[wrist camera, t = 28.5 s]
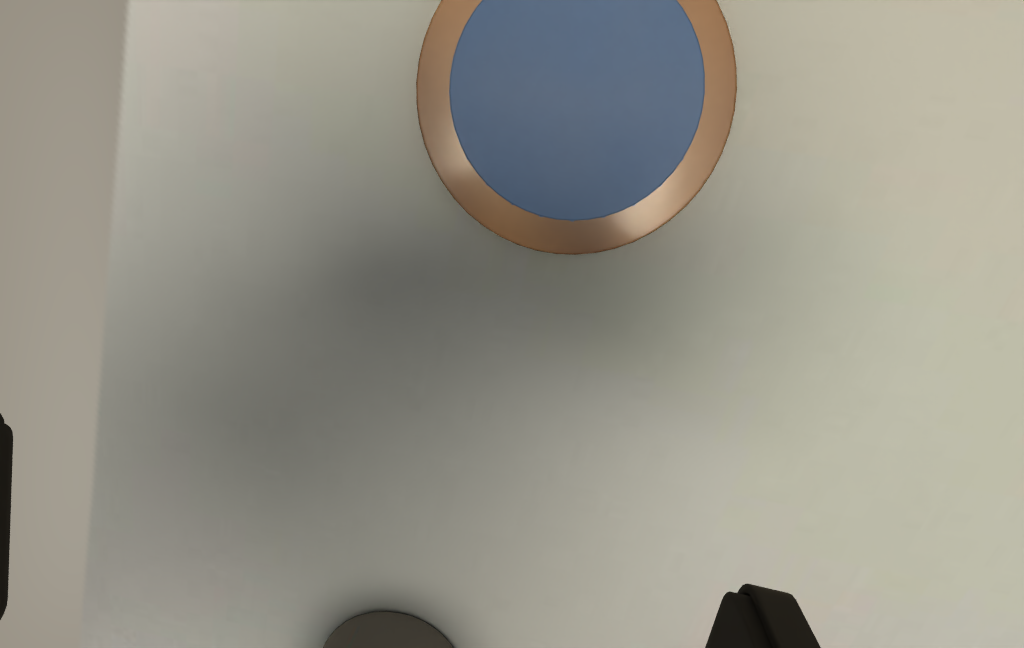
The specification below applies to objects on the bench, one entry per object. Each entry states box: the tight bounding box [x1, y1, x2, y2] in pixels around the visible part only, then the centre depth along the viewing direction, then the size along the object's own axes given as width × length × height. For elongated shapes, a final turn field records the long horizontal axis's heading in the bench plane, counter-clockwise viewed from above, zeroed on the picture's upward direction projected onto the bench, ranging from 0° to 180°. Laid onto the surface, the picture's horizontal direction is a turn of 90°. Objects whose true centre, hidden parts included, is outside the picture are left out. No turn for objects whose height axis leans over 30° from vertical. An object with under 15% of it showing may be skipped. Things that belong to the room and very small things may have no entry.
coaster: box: [416, 0, 737, 255], centre depth 21 cm, size 10×10×1 cm
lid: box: [449, 0, 705, 222], centre depth 20 cm, size 7×7×2 cm
